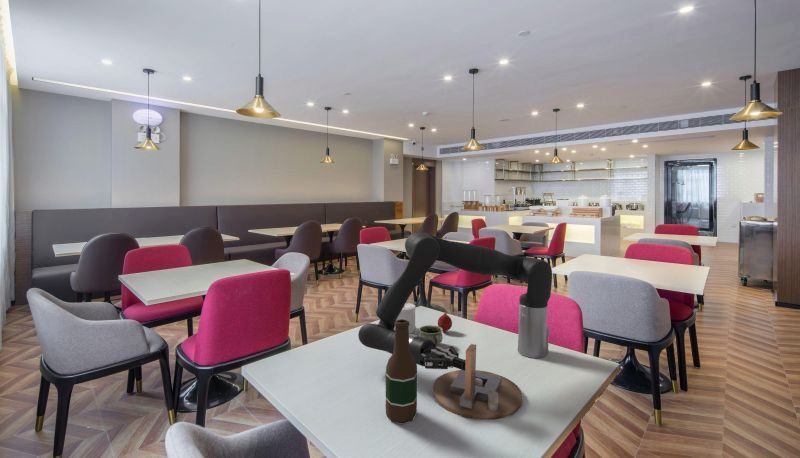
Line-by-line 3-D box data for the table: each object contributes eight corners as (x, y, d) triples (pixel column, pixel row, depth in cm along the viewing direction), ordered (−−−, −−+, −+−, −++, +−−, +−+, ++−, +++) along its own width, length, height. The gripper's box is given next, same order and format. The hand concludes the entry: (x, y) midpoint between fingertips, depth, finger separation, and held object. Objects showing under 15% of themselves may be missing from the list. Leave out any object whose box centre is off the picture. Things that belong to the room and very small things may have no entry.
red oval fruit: (451, 335, 150) (451, 315, 150) (436, 334, 152) (437, 314, 151) (452, 330, 156) (452, 311, 155) (438, 329, 157) (438, 310, 157)
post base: (490, 369, 121) (490, 352, 120) (541, 409, 98) (542, 389, 97) (419, 381, 113) (419, 363, 112) (457, 427, 90) (458, 405, 90)
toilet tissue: (410, 336, 149) (411, 311, 148) (382, 332, 153) (382, 308, 152) (418, 327, 159) (418, 303, 158) (391, 324, 163) (391, 301, 162)
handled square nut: (462, 375, 113) (463, 328, 112) (501, 383, 108) (503, 335, 107) (443, 402, 98) (444, 349, 97) (488, 413, 93) (490, 357, 92)
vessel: (449, 349, 136) (449, 332, 136) (427, 353, 133) (427, 336, 132) (433, 338, 147) (433, 322, 147) (412, 341, 144) (412, 325, 143)
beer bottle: (384, 407, 99) (385, 316, 97) (414, 406, 99) (415, 315, 97) (386, 425, 91) (386, 326, 89) (418, 424, 91) (420, 326, 89)
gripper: (428, 354, 115) (480, 372, 104) (399, 368, 105) (453, 389, 94) (429, 330, 115) (480, 345, 103) (400, 342, 105) (453, 359, 93)
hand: (467, 366), depth 99 cm, fingers closed
